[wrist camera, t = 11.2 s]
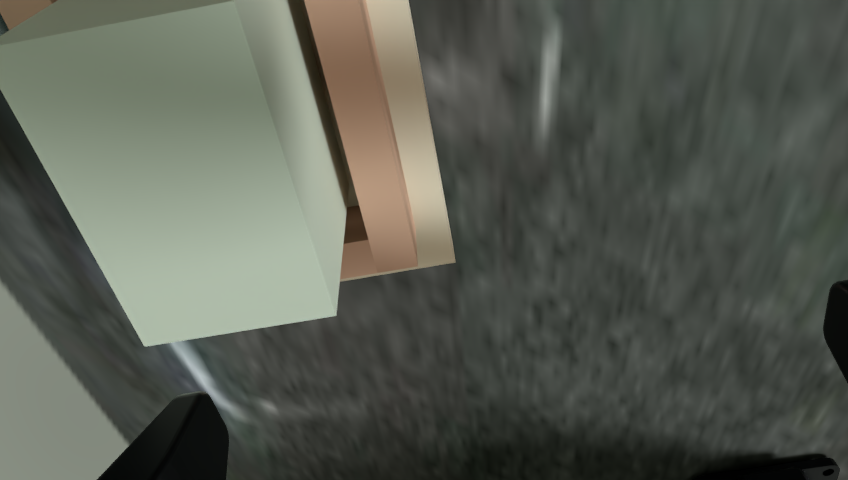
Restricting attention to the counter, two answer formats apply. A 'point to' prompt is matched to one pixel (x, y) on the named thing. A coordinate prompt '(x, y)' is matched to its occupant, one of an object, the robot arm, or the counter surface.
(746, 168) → the counter surface
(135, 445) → the robot arm
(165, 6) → the sage block
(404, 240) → the pink and beige box
